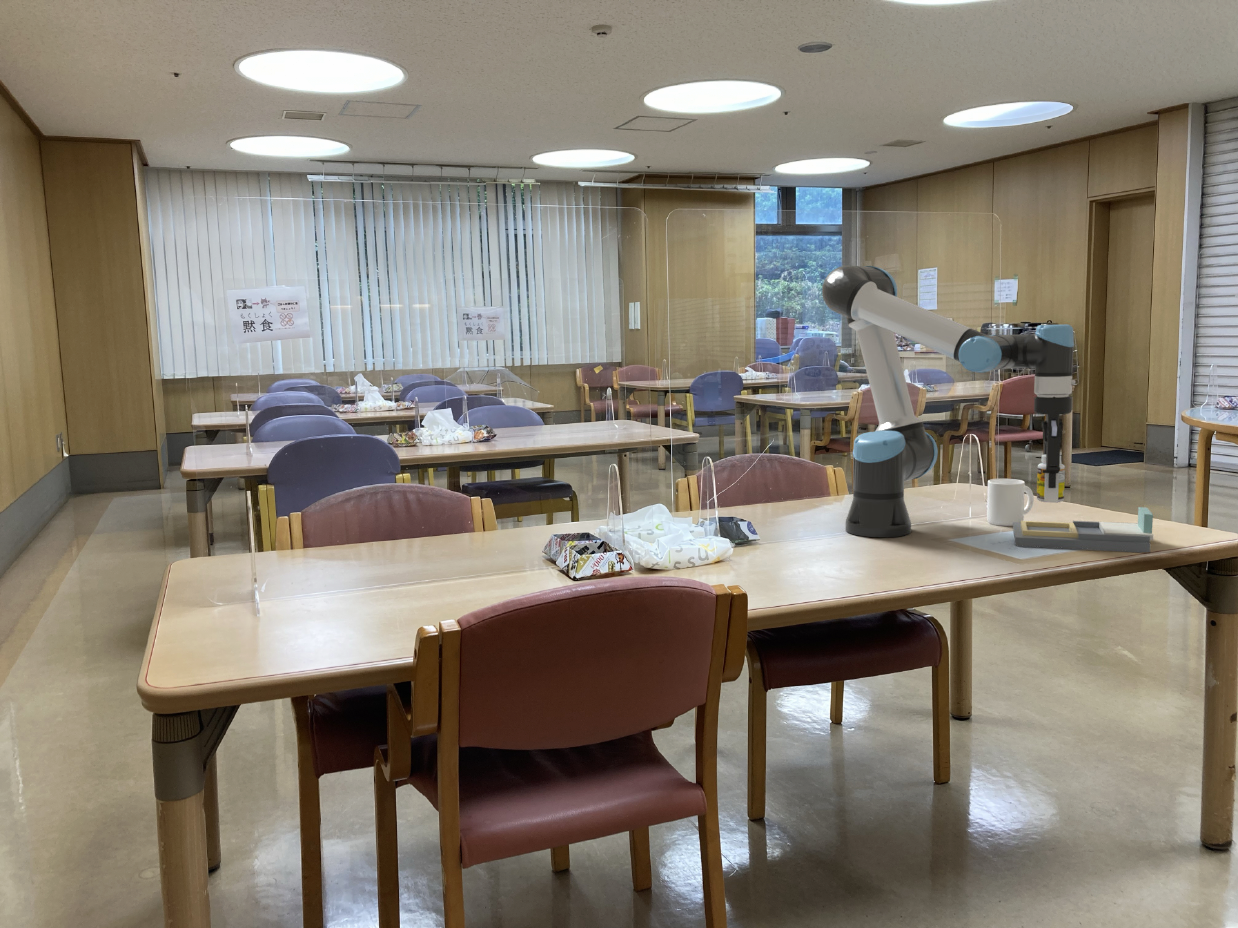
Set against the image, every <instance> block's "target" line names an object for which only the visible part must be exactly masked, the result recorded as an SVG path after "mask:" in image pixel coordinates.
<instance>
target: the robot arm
mask: <svg viewBox="0 0 1238 928" xmlns="http://www.w3.org/2000/svg"><path fill="white" fill-rule="evenodd" d="M821 293H822V294H821V295H822V298H823V301H824V303H825V305H826V306H827V307H828V309H830V311H833V312H835V313H836V314H838V315H841V316H844V317H846V321H847V324H848V327H849V328H851V329H853V330H854V331H855V332H856V336H857V339H858V343H859V348H860V351H861V356H862V359H863V362H864V366H865V367H864V368H865V371H866V376H867V380H868V382H869V387H870V391H871V396H872V400H873V404H874V407H875V412H876V416H877V420H878V426H877V427H876V429H875V431H869V432H864V433H861V434H859V435H858V436H856V437H855V439H854V441H853V450H852V457H853V458H852V464H853V465H852V468H853V469H852V473H853V474H852V479H853V480H852V482H853V483H852V485H853V486H852V487H853V492H852V493H853V495H852V501H851V505H850V507H849V510H848V513H847V516H846V519H845V531H846V532H847V533H848V534H851V535H855V536H860V537H870V538H896V537H903V536H906V535H909V534H911V532H912V522H911V517H910V515H909V512H908V509H907V505H906V503H905V496H904V495H905V491H904V490H905V482H907V481H911V480H915V479H919V478H921V477H922V476H924V475H926V474H927V473H929V472H930V471H931V470H932V469H933V468H934V466H935V464H936V462H937V460H938V452H939V449H938V446H937V443H936V440H935V439H934V437H933V436H932V435H930V434H929V433H928V432H926V429H925V425H924V422H923V419H921V418H919V417H917V416H916V415H915V413H914V408H913V404H912V401H911V397H910V392H909V388H908V383H907V381H906V380H907V379H906V376H905V372H904V369H903V364H902V361H901V356H900V353H899V349H898V344H897V341H896V337H895V334H896V335H898V336H900V337H903V338H905V339H907V340H910V341H911V342H914V343H916V344H919V345H921V346H923V347H925V348H928V349H930V350H932V351H934V352H937V353H939V354H942V355H943V356H946V357H947V358H950V359H953V360H954V361H957V362H959V363H960V364H961V365H962V367H963V369H966V370H967V371H969V372H973V373H986V372H990V371H999V370H1000V371H1001V370H1008V369H1034V384H1033V387H1034V388H1033V389H1034V390H1033V393H1034V394H1035V395H1036V396H1035V397H1034V398H1033V399H1034V400H1033V402H1034V403H1033V404H1034V405H1033V411H1034V413H1035V414H1039V415H1045V420H1044V421H1041V428H1042V440H1043V454H1042V455H1045V454H1046V470H1042V473H1045V493H1044V502H1043V503H1050V502H1051V504H1052V503H1055V504H1057V503H1059V502H1058V485H1059V471H1060V455H1061V442H1062V430H1063V427H1064V426H1063V425H1064V423H1063V421H1062V420H1061V421H1060V415H1069V414H1070V413H1072V410H1073V409H1072V407H1073V406H1072V405H1073V398H1072V397H1071V396H1070V395H1071V394H1072V393H1073V386H1072V385H1075V384H1076V380H1075V379H1073V374H1074V372H1073V371H1074V370H1073V369H1074V348H1075V343H1074V342H1075V341H1074V338H1075V337H1074V328H1073V327H1072V325H1071V324H1042V325H1041V324H1040V325H1037V326H1036V328H1035V333H1030V334H992V335H988V334H985V333H983V332H981V331H978V330H976V329H973V328H971V327H969V326H967V325H964V324H962V323H959V322H957V321H955V320H952V319H950V318H947V317H945V316H943V315H940V314H938V313H935V312H933V311H932V310H928V309H927V308H924V307H921V306H920V305H916V304H914V303H912V302H909V301H907V300H905V299H902V298H901V297H900V298H899V297H897V296H898V286H897V283H896V280H895V278H894V277H893V276H892V274H891V273H890V272H888V271H887V270H885V269H883V268H880V267H877V266H874V265H873V266H872V265H865V266H864V265H863V266H862V265H842V266H841V265H840V266H838V267H836V268H835V269H833V270H832V271H830V272H829V273H828V274H827V276H826V277H825V279H824V281H823V282H822V289H821Z"/></svg>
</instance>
